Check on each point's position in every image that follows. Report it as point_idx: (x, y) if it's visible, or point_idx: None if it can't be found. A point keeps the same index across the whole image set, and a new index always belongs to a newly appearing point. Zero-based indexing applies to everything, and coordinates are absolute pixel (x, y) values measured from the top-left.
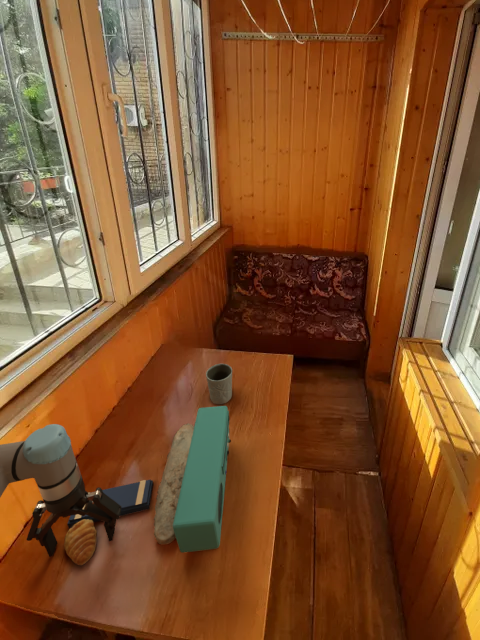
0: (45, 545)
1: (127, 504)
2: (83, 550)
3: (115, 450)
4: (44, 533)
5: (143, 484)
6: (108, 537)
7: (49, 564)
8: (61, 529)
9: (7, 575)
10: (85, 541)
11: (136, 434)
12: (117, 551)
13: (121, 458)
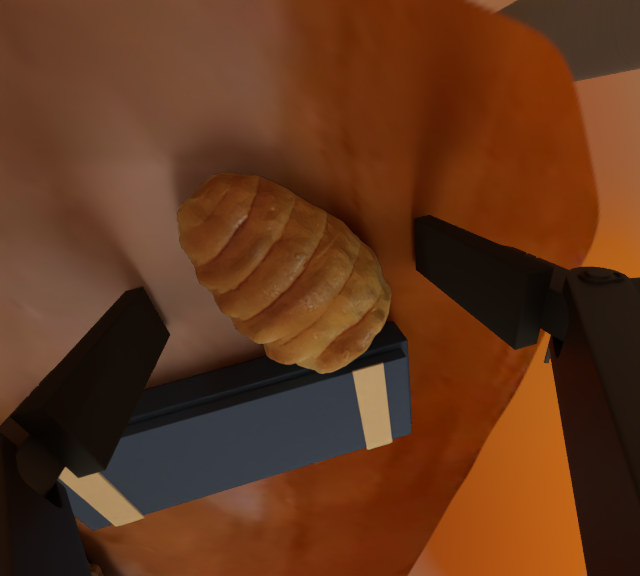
0: (491, 245)
1: (131, 443)
2: (230, 233)
3: (349, 523)
4: (597, 319)
5: (112, 513)
6: (123, 305)
7: (413, 185)
8: (423, 315)
9: (584, 143)
10: (244, 279)
11: (303, 562)
12: (55, 244)
13: (313, 513)
